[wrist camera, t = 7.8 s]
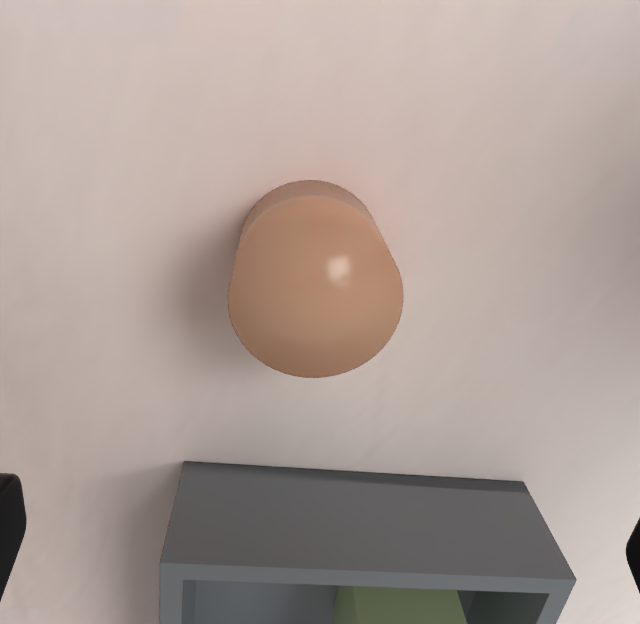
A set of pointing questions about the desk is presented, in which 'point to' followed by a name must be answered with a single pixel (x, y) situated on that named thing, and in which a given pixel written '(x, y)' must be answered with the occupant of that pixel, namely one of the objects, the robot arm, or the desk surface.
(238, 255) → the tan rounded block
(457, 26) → the desk surface
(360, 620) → the green block
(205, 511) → the bin
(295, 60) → the desk surface
